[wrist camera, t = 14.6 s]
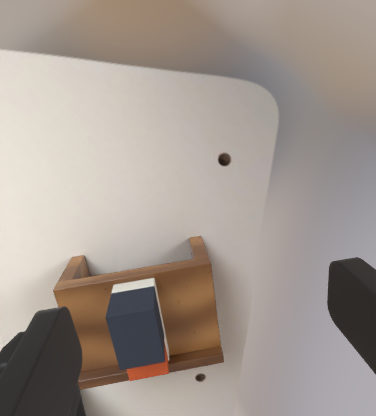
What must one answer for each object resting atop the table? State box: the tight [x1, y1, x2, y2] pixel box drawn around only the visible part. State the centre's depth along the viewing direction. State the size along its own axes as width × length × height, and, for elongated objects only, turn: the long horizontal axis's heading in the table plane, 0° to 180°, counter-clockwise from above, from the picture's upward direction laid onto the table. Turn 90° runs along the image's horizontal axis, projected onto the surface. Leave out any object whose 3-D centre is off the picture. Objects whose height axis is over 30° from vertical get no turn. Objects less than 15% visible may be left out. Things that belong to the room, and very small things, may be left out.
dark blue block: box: [105, 278, 169, 381], centre depth 29 cm, size 10×4×5 cm, turn 8°
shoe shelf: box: [53, 236, 224, 390], centre depth 34 cm, size 12×16×8 cm
